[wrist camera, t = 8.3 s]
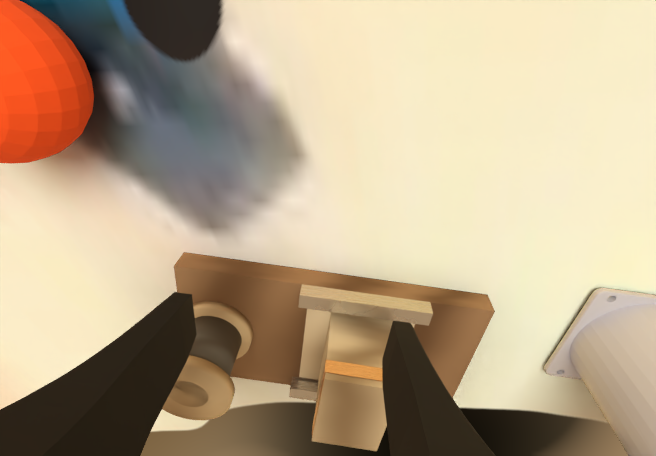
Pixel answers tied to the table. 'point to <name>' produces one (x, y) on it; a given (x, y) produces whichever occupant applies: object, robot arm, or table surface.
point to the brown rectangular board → (314, 315)
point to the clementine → (39, 86)
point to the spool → (210, 363)
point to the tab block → (352, 383)
